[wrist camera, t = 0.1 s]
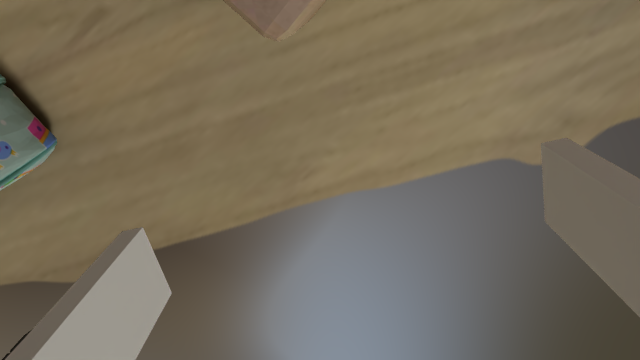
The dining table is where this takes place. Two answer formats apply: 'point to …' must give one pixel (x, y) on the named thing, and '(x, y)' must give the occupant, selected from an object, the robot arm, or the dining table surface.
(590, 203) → the robot arm
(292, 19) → the wooden block
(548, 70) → the dining table surface
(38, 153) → the lunch box
